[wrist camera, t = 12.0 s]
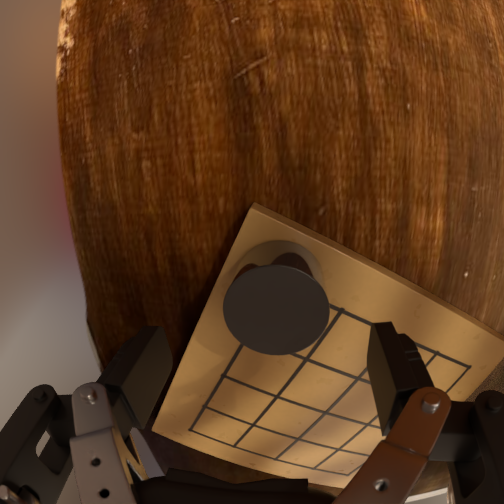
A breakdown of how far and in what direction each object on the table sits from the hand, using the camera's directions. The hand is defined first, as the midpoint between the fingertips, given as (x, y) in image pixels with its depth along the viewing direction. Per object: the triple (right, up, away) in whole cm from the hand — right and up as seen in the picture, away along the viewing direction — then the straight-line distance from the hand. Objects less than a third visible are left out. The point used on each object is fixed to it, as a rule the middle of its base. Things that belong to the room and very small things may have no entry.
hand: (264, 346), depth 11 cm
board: (+5, -8, +10) cm, 14 cm away
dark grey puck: (+1, +2, +5) cm, 6 cm away
